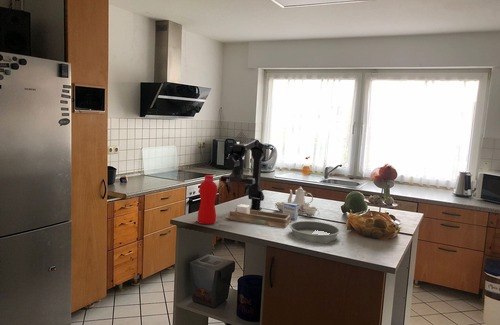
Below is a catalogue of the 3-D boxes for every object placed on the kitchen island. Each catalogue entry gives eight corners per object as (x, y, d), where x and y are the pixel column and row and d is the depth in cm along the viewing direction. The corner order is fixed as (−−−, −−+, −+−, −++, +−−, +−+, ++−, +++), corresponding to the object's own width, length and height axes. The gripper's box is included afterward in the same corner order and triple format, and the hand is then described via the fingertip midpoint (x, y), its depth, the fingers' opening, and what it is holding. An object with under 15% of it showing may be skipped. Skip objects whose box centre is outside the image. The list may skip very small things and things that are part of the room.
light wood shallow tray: (236, 213, 226) (237, 207, 225) (290, 221, 216) (291, 214, 216) (228, 219, 213) (228, 212, 212) (285, 227, 203) (285, 220, 202)
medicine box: (282, 218, 223) (283, 203, 222) (285, 216, 227) (286, 202, 226) (295, 220, 219) (296, 205, 218) (297, 218, 223) (299, 204, 222)
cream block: (239, 212, 221) (240, 204, 220) (249, 214, 219) (250, 205, 218) (236, 214, 215) (236, 206, 215) (246, 216, 213) (246, 207, 213)
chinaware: (271, 215, 235) (272, 188, 232) (278, 206, 251) (279, 182, 247) (317, 221, 226) (319, 194, 223) (322, 212, 242) (324, 187, 238)
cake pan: (305, 226, 209) (306, 218, 209) (347, 237, 194) (348, 228, 194) (279, 235, 190) (279, 226, 190) (323, 248, 175) (324, 238, 175)
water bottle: (213, 219, 211) (216, 173, 208) (216, 224, 200) (219, 177, 197) (196, 219, 209) (199, 173, 206) (198, 224, 198) (200, 176, 195)
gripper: (217, 167, 208) (215, 195, 210) (250, 170, 203) (248, 199, 205) (224, 165, 218) (223, 192, 220) (256, 168, 213) (254, 195, 215)
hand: (236, 195), depth 215 cm, fingers open, 9 cm apart
